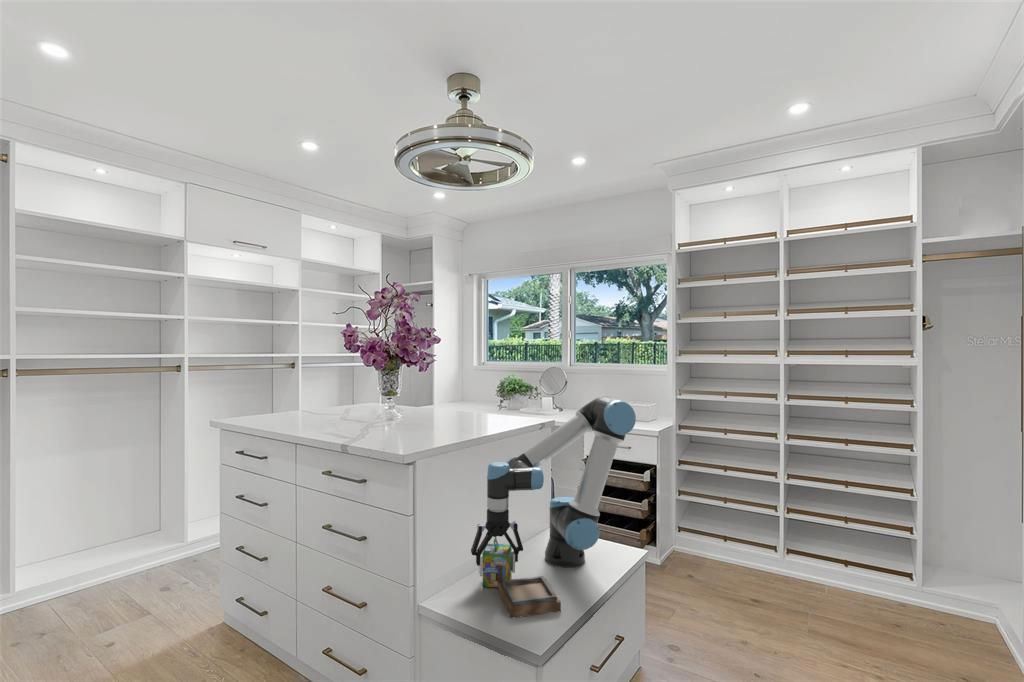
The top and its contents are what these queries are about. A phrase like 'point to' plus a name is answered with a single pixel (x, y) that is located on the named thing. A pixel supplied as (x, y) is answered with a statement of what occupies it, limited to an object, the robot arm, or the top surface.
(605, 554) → the top surface
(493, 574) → the chalk box
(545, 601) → the wooden tray
